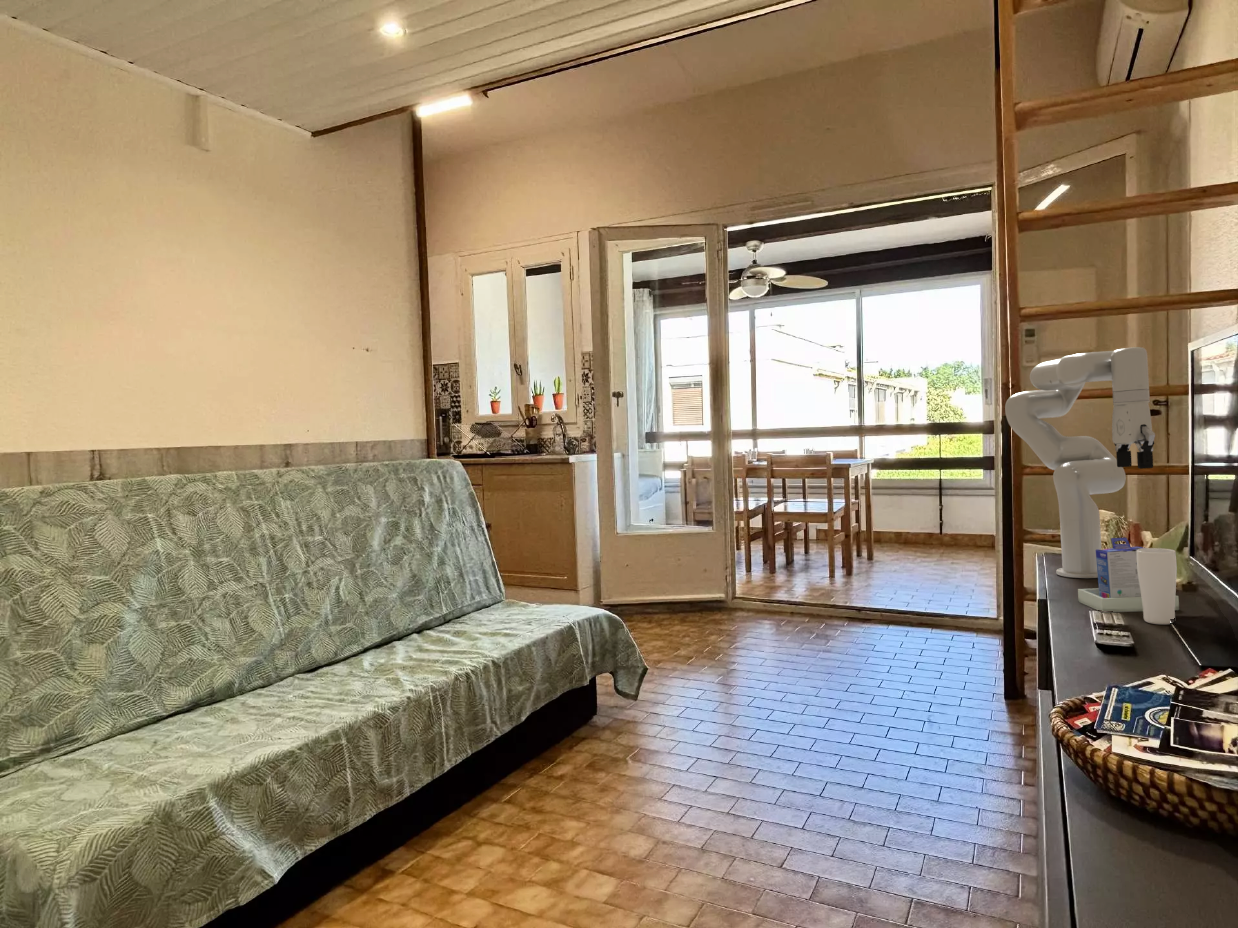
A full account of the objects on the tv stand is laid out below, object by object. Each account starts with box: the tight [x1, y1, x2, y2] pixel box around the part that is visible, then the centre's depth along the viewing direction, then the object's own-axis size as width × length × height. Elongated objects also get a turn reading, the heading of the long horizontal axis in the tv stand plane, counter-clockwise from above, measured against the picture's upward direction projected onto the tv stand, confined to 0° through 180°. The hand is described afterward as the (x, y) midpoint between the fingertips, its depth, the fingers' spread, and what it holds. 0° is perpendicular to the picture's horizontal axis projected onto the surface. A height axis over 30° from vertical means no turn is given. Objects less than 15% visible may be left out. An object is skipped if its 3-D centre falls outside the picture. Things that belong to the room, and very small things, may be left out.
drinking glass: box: [1136, 547, 1178, 626], centre depth 159 cm, size 7×7×15 cm
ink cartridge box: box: [1096, 537, 1145, 598], centre depth 175 cm, size 10×6×14 cm, turn 87°
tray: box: [1077, 587, 1180, 613], centre depth 174 cm, size 12×16×3 cm
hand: (1134, 467), depth 189 cm, fingers open, 9 cm apart
